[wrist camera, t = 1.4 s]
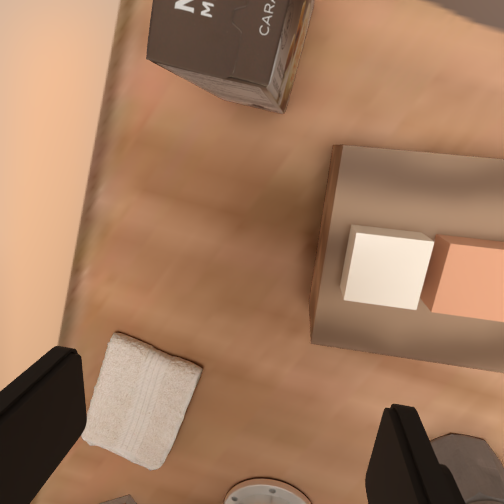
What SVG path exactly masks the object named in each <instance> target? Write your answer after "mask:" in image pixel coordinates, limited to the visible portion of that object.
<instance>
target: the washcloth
mask: <svg viewBox="0 0 504 504" xmlns="http://www.w3.org/2000/svg"><path fill="white" fill-rule="evenodd" d="M107 345H108V347H107V350H106V354H105V359H104V360H103V365H102V366H101V369H100V374H99V378H98V381H97V384H96V386H95V387H94V389H95V390H94V395H93V396H92V399H91V403H90V408H89V410H88V413H87V423H86V427H85V429H84V431H83V433H82V434H81V436H82V439H83V440H85V441H87V443H88V444H89V445H91V446H92V445H96V446H99V447H102V448H105V449H107V450H109V451H111V452H113V453H116V454H117V455H120V456H122V457H124V458H126V459H128V460H129V461H131V462H133V463H135V464H138V465H140V466H143V467H145V468H148V469H149V470H155V469H158V468H160V467H161V466H162V464H163V463H164V462H165V460H166V458H167V455H168V453H169V451H170V450H171V448H172V446H173V444H174V441H175V439H176V436H177V433H178V431H179V428H180V425H181V423H182V421H183V419H184V415H185V413H186V410H187V407H188V404H189V402H190V400H191V398H192V395H193V392H194V389H195V388H196V386H197V383H198V381H199V379H200V376H201V373H202V370H203V369H202V368H201V367H199V366H198V365H196V364H194V363H192V362H190V361H188V360H184V359H182V358H180V357H176V356H175V357H173V356H171V355H168V354H167V353H164V352H162V351H160V350H157V349H155V348H154V347H153V346H152V345H149V344H147V343H144V342H142V341H139V340H137V339H135V338H133V337H130V336H128V335H125V334H122V333H115V332H114V333H113V335H112V337H111V339H110V342H109V343H108V344H107Z"/></svg>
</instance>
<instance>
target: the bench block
mask: <svg viewBox="0 0 504 504" xmlns="http://www.w3.org/2000/svg"><path fill="white" fill-rule="evenodd" d="M351 225H360V226H369V227H378V228H386V229H395V230H404V231H413V232H422V233H423V234H424V235H426V236H427V237H429V238H430V239H431V240H433V241H434V240H435V236H436V234H439V235H448V236H457V237H466V238H474V239H483V240H492V241H501V242H504V159H496V158H485V157H474V156H463V155H452V154H440V153H429V152H418V151H407V150H396V149H384V148H373V147H362V146H351V145H333V148H332V155H331V161H330V168H329V174H328V181H327V187H326V194H325V200H324V207H323V213H322V220H321V226H320V233H319V239H318V246H317V252H316V259H315V265H314V272H313V278H312V285H311V291H310V298H309V316H310V336H311V344H316V345H322V346H329V347H336V348H342V349H349V350H355V351H362V352H368V353H375V354H382V355H388V356H395V357H401V358H408V359H414V360H421V361H427V362H434V363H441V364H447V365H454V366H460V367H467V368H473V369H480V370H486V371H493V372H500V373H504V322H499V321H492V320H484V319H477V318H470V317H463V316H455V315H448V314H441V313H434V312H431V311H430V310H429V309H428V307H427V306H426V305H425V304H424V302H423V301H422V300H421V298H419V302H418V306H417V309H416V310H412V309H404V308H397V307H390V306H383V305H375V304H368V303H361V302H353V301H346V300H344V299H343V296H342V292H341V288H340V283H341V278H342V272H343V267H344V261H345V256H346V250H347V245H348V239H349V234H350V229H351Z"/></svg>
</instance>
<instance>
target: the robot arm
mask: <svg viewBox="0 0 504 504" xmlns="http://www.w3.org/2000/svg"><path fill="white" fill-rule="evenodd" d="M86 423H87V416H86V404H85V393H84V382H83V370H82V359H81V356H80V355H79V354H78V353H77V351H76V349H73V348H67V347H61V346H55V347H54V348H52V349H51V350H50V351H48V352H47V353H46V354H45V355H44V356H42V357H41V358H40V359H39V360H38V361H36V362H35V363H34V364H33V365H32V366H30V367H29V368H28V369H27V370H26V371H24V372H23V373H22V374H21V375H20V376H18V377H17V378H16V379H15V380H14V381H12V382H11V383H10V384H9V385H8V386H7V387H5V388H4V389H3V390H2V391H0V504H30V502H31V501H32V500H33V498H34V497H35V496H36V494H37V493H38V492H39V490H40V489H41V488H42V486H43V485H44V484H45V482H46V481H47V480H48V478H49V477H50V476H51V474H52V473H53V472H54V470H55V469H56V468H57V466H58V465H59V464H60V462H61V461H62V460H63V458H64V457H65V456H66V454H67V453H68V452H69V450H70V449H71V448H72V446H73V445H74V444H75V442H76V441H77V440H78V438H79V437H80V436H81V434H82V433H83V431H84V429H85V427H86ZM365 485H366V493H367V498H368V504H466V503H465V501H464V499H463V497H462V495H461V492H460V490H459V488H458V486H457V483H456V481H455V479H454V477H453V475H452V473H451V471H450V469H449V468H448V467H447V466H446V465H443V464H439V462H438V459H437V457H436V455H435V452H434V450H433V448H432V445H431V443H430V441H429V438H428V436H427V434H426V431H425V429H424V427H423V424H422V422H421V420H420V417H419V415H418V413H417V411H416V409H415V408H414V407H410V406H404V405H399V404H392V405H391V408H385V409H384V412H383V415H382V419H381V422H380V426H379V430H378V433H377V437H376V440H375V444H374V448H373V451H372V455H371V458H370V462H369V466H368V469H367V473H366V479H365ZM224 504H311V503H310V501H309V500H308V499H307V498H306V496H305V495H304V494H302V493H301V492H300V491H299V490H297V489H296V488H294V487H292V486H290V485H288V484H286V483H283V482H281V481H277V480H272V479H263V478H262V479H252V480H247V481H244V482H242V483H239V484H237V485H236V486H234V487H233V488H232V489H231V490H230V491H229V492H228V493H227V495H226V497H225V500H224Z"/></svg>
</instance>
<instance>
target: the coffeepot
mask: <svg viewBox="0 0 504 504" xmlns="http://www.w3.org/2000/svg"><path fill="white" fill-rule="evenodd" d="M430 443H431V445H432V448H433V450H434V452H435V455H436V457H437V459H438V462H439V464H443V465H446V466H447V467H448V468H449V469H450V471H451V473H452V475H453V477H454V479H455V481H456V483H457V486H458V488H459V490H460V492H461V495H462V497H463V499H464V501H465V503H466V504H504V468H503V466H502V463H501V462H500V460H499V459H498V457H497V456H496V455H495V453H494V452H493V451H492V449H491V448H490V447H489V445H488V444H487V443H486V441H485V440H482V439H478V438H475V437H472V436H468V435H461V434H450V435H445V436H441V437H438V438H436V439H434V440H432V441H430Z"/></svg>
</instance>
